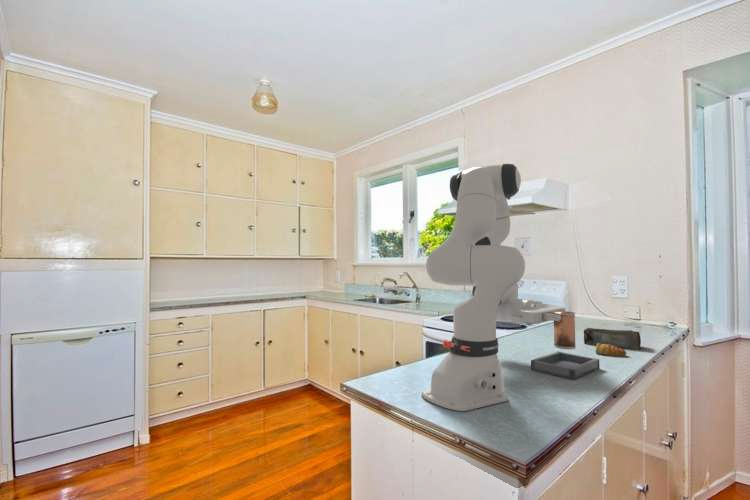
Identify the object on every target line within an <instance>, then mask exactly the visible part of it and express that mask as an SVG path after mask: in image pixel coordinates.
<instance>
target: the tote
mask: <svg viewBox="0 0 750 500" xmlns="http://www.w3.org/2000/svg"><path fill="white" fill-rule="evenodd" d="M600 368H601V367H600V359H599V358H595V357H590V356H589V357H588V356H583V355H579V354H573V353H567V352H563V351H556V352H555V351H554V352H552V353H549V354H546V355H543V356H540V357H537V358H534V359H530V370H531V371H535V372H537V373H542V374H545V375H546V374H547V375H551V376H555V377H558V378H562V379H567V380H571V381H576V380H578V379H580V378H583V377H584V376H587V375H589V374H591V373H593V372H595V371H598V370H600Z"/></svg>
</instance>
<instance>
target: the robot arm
mask: <svg viewBox="0 0 750 500" xmlns="http://www.w3.org/2000/svg"><path fill="white" fill-rule="evenodd" d="M521 184H522V178H521V173H520V171H519V169H518V168H517V166H516V165H515V164H514V163H502V164H496V165H493V164H492V165H485V166H477V167H471V168H469V169H466V170H459V171H456V172H454V173H453V175H452V176H451V177H450V180H449V191H450V195H451V198H452V199H453V200H454V201H456V210H455V219H454V223H453V227H452V229H451V231H450V233H449V234H448V236H447V237H446V238H445V240H444V241H443V242H441V244H439V245H438V246H437V247H435V248H433V249H432V250H431V252H430V253H429V254H428V256H427V258H426V261H425V262H426V264H425V267H426V272H427V274H428V276H429V278H430V280H431V281H432V282H433V283H437V284H442V285H446V286H465V287H466V286H468V287H469V286H472V289H471V295H472V296H470V297H468V298H465V299H463V300H461V301H459V302H458V303H457V304H456V305H455V307H454V309H453V313H452V315H453V316H452V317H453V319H452V320H453V335H452V337H451V340H447V339H444V340H443V342H442V347H443V348H444V349H445V348H446V349H448V351H449V352H448V353H447V354H446V356H445V357H444V358H443V360H442V361H440V363H439V364H438V365H437V367H435V368H434V370H433V371H432V374H431V380H430V386H429V387H427V388H425V389H424V390H422V391H421V396H422V397H423V399H425V400H426V401H428V402H430V403H432V404H434V405H436V406H439V407H442V408H445V409H449V410H453V411H456V412H457V411H458V412H466V411H467V412H468V411H471V410H474V409H475V410H476V409H480V408H483V407H488V406H492V405H495V404H500V403H505V402H508V401H509V396H508V394H507V393H506V392H505V387H504V386H505V385H504V377H503V367H502V364H501V362H500V361H499V358H498V352H499V345H500V344H499V339H498V338H497V321H498V322H504V323H513V324H517V325H522V326H532V325H534V324H541V323H546V322H550V321H553V322H554V321H561V320H562V315H554V314H553V312H554V311H566V308H565V307H564V306H559V305H555V304H547V303H543V302H542V301H538V300H537V301H535V300H532V299H523V298H518V297H519V290H518V283H519V282H520V281H521V280H522V278H523V277H524V274H525V270H526V262H525V259H524V258H525V257H524V256H523V254H522V252H521V251H520V250H519V249H517V247H514V246H509V245H501V244H503V243H504V241H505V240H506V239H507V238H508V236H509V235H510V231H511V218H510V217H511V216H510V207H509V204H508V200H511V198H512V197H514V196H515V195H517V194H518V192H519V191H520V187H521Z"/></svg>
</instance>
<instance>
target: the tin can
mask: <svg viewBox="0 0 750 500" xmlns="http://www.w3.org/2000/svg"><path fill="white" fill-rule="evenodd" d="M553 314H554V315H562V320H561V321H553V347H554V348H557V349H562V350H575V349H576V347H577V346H576V322H575V321H576V319H575V317H576V316H575V315H576V313H575V312H574V311H570V310H569V311H554V312H553Z"/></svg>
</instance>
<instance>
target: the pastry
mask: <svg viewBox="0 0 750 500" xmlns="http://www.w3.org/2000/svg"><path fill="white" fill-rule="evenodd" d="M594 352H595V353H596V354H598V355H602V356H603V355H605V356H607V357H608V356H610V357H617V358H619V357H626V356H627V350H625V349H624V348H618V347H616V346H612V345H610V344H600V343H597V345H595V351H594Z"/></svg>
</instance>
